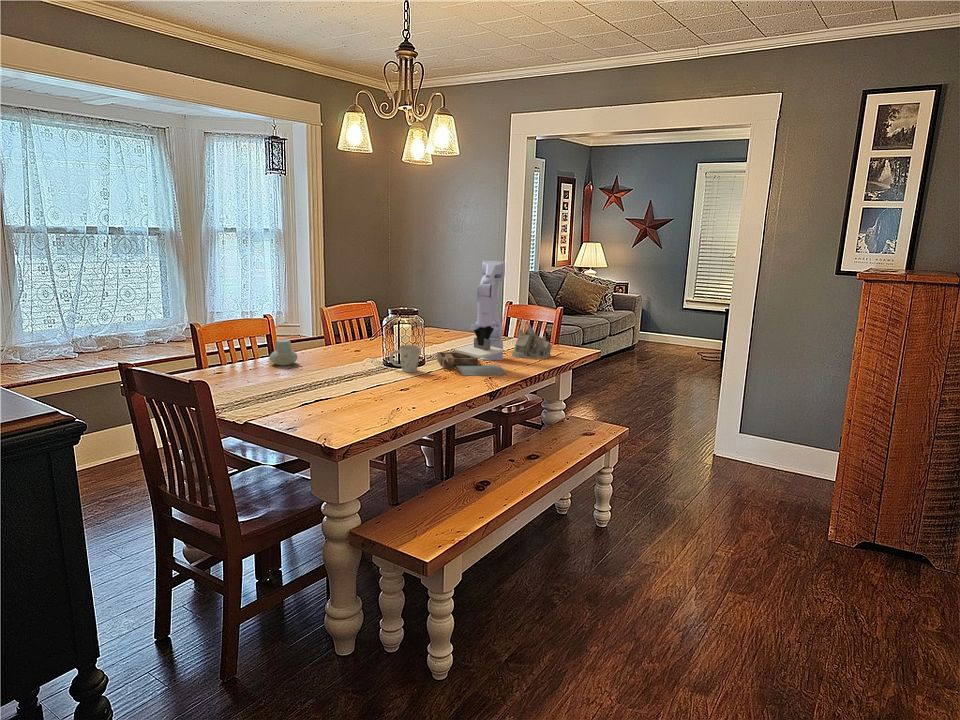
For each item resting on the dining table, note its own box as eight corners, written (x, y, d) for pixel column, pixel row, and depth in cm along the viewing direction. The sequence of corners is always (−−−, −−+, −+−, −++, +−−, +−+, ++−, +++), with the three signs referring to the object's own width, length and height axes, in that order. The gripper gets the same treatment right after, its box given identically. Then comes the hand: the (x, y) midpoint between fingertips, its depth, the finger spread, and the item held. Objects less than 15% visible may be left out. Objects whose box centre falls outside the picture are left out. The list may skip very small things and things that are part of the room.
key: (450, 358, 268) (451, 353, 267) (453, 362, 260) (453, 358, 260) (445, 358, 267) (445, 353, 267) (447, 362, 259) (448, 358, 259)
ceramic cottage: (507, 354, 298) (510, 323, 295) (530, 352, 310) (534, 321, 306) (531, 363, 288) (536, 330, 284) (554, 359, 299) (559, 328, 296)
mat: (499, 365, 276) (499, 365, 276) (508, 375, 260) (508, 374, 260) (456, 366, 272) (456, 365, 272) (462, 375, 256) (462, 374, 256)
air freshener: (297, 361, 270) (296, 338, 268) (298, 366, 262) (297, 342, 260) (270, 362, 266) (269, 339, 264) (270, 367, 259) (269, 342, 257)
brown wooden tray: (472, 358, 288) (472, 349, 287) (480, 368, 269) (480, 359, 268) (436, 358, 285) (437, 350, 284) (442, 368, 266) (442, 359, 265)
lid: (477, 346, 276) (478, 333, 275) (503, 352, 268) (504, 340, 266) (453, 352, 264) (454, 339, 262) (479, 359, 256) (480, 346, 254)
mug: (418, 373, 257) (418, 349, 255) (387, 372, 257) (387, 348, 255) (420, 368, 265) (421, 345, 263) (390, 367, 265) (391, 344, 263)
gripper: (487, 310, 271) (486, 341, 274) (465, 313, 260) (464, 345, 263) (500, 312, 267) (499, 343, 270) (478, 315, 256) (477, 348, 259)
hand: (482, 344), depth 266 cm, fingers closed on lid, 2 cm apart
